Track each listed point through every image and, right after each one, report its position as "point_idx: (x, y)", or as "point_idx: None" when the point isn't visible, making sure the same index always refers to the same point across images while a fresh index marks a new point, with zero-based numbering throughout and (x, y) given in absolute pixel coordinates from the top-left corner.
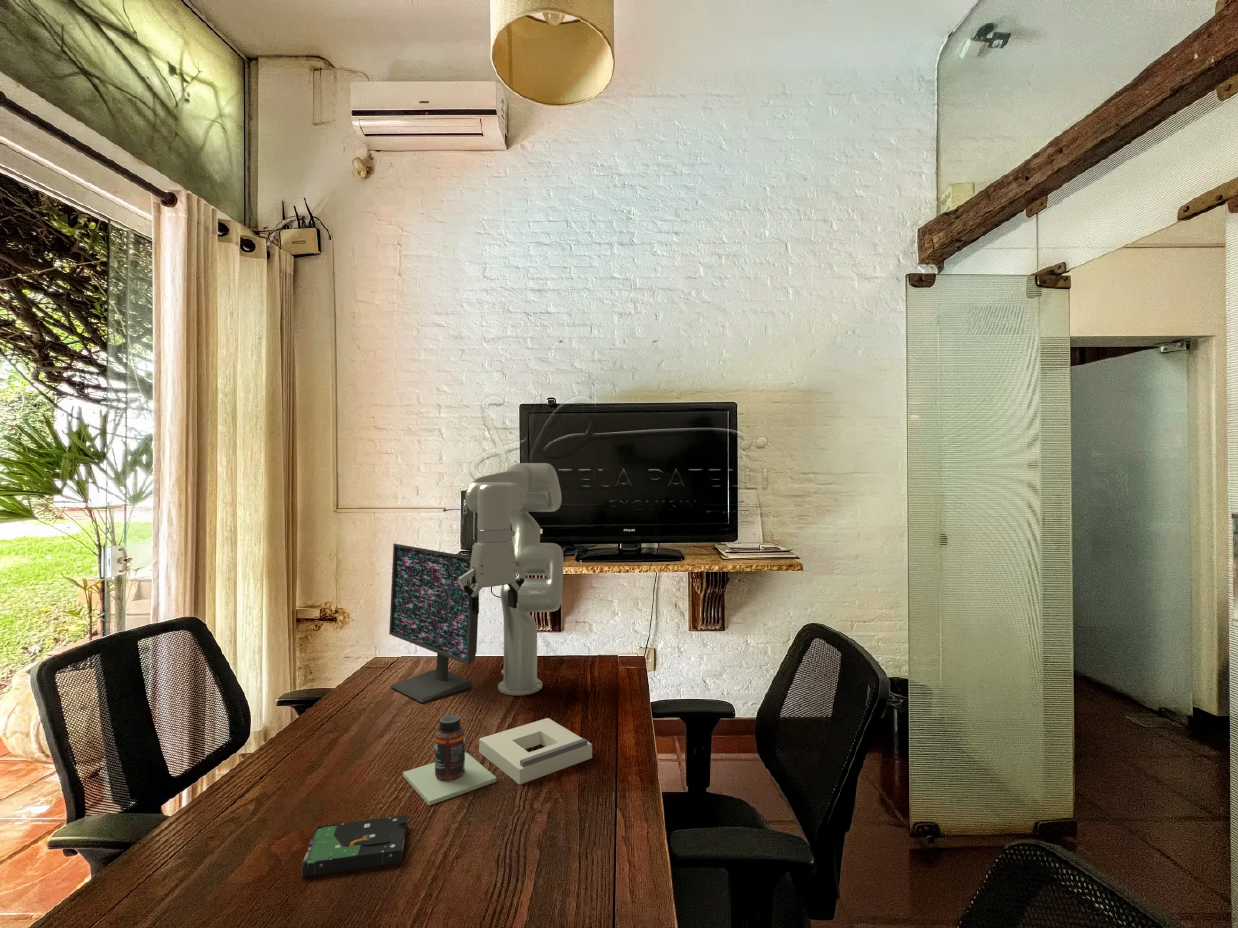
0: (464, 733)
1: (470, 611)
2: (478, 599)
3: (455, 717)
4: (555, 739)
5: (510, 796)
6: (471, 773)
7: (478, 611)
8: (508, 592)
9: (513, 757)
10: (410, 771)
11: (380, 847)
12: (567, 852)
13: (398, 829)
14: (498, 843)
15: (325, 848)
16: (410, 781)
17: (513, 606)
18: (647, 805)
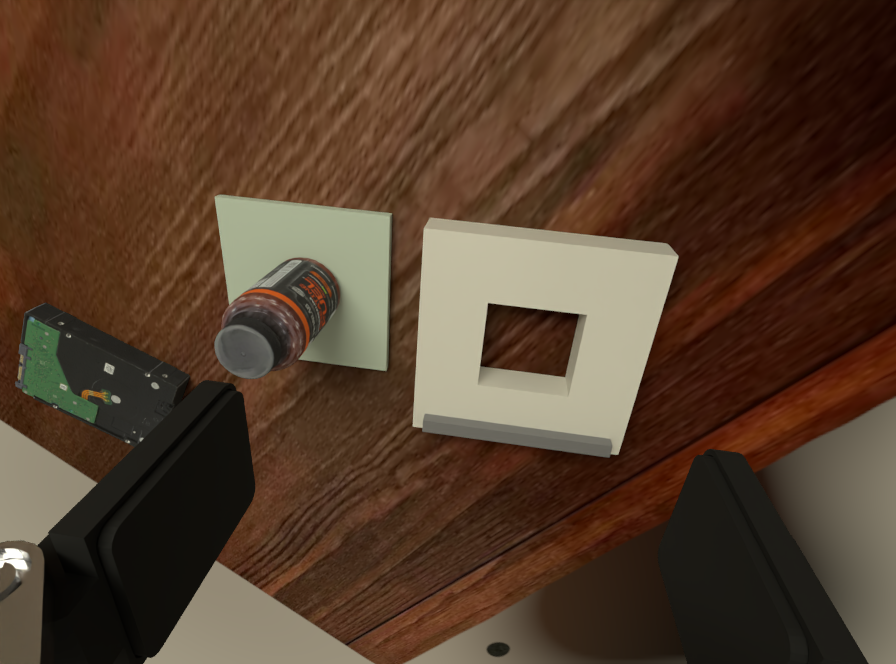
0: (300, 356)
1: (207, 384)
2: (162, 634)
3: (260, 357)
4: (575, 380)
5: (381, 424)
6: (350, 319)
7: (240, 511)
8: (768, 631)
9: (434, 378)
10: (232, 206)
11: (128, 426)
12: (369, 567)
13: (158, 408)
14: (300, 499)
15: (45, 379)
16: (223, 248)
17: (663, 564)
18: (540, 581)
